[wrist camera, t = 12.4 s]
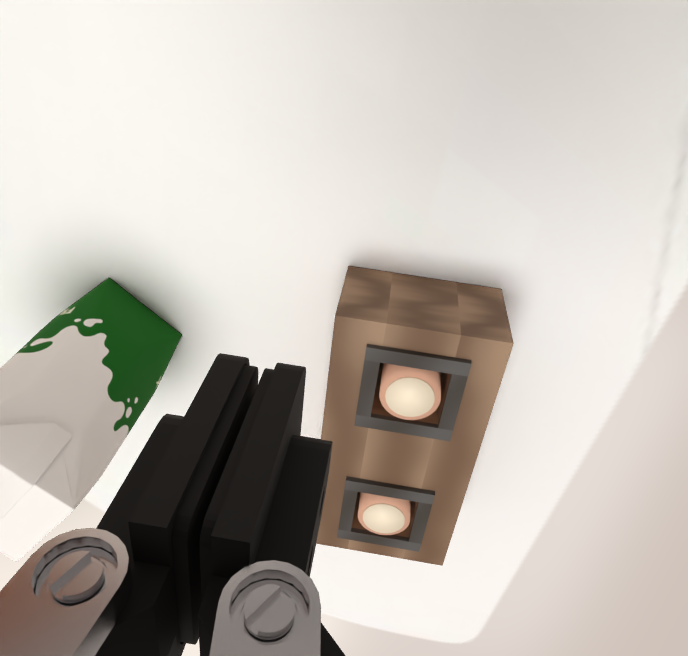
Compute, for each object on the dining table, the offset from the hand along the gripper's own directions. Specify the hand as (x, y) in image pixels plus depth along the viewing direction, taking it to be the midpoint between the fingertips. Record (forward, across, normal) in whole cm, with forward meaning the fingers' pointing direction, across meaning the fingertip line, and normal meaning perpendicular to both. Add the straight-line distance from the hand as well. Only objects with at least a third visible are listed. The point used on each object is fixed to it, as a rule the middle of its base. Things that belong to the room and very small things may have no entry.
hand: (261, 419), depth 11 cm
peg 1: (+29, -5, +16) cm, 33 cm away
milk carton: (+29, +18, +20) cm, 40 cm away
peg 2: (+29, -5, +28) cm, 40 cm away
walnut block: (+29, -5, +22) cm, 37 cm away
